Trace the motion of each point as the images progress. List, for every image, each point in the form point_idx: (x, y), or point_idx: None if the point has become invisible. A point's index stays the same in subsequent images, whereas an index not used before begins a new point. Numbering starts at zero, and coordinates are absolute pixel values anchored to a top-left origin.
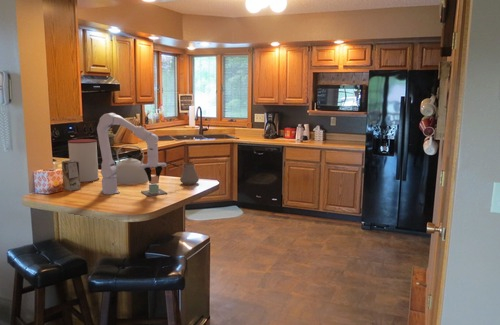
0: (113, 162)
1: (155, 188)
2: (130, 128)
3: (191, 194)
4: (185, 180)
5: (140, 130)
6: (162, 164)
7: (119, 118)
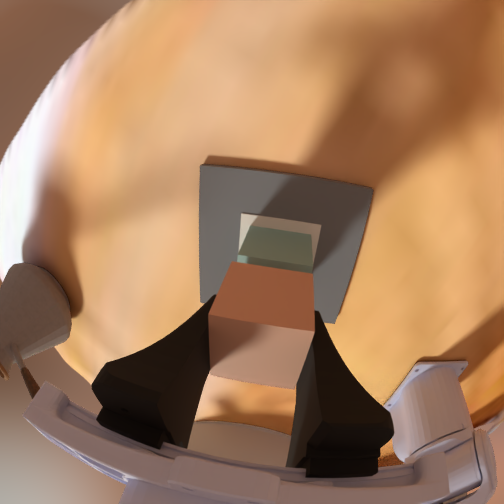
0: None
1: (274, 245)
2: None
3: (85, 63)
4: (45, 291)
5: None
6: (68, 431)
7: None
